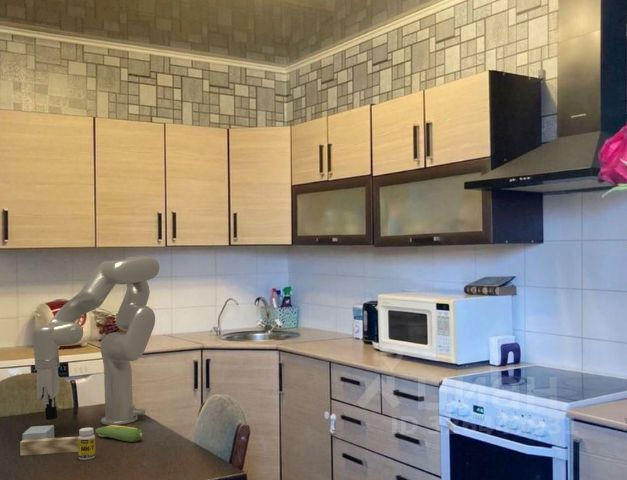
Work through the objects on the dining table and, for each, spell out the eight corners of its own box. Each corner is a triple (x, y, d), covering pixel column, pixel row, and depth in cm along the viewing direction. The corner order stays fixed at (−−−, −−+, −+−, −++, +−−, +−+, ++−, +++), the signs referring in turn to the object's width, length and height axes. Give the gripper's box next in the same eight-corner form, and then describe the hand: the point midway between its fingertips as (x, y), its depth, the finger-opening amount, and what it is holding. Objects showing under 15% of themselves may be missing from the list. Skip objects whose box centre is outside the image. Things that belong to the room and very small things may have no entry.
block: (54, 444, 218) (54, 425, 218) (46, 452, 209) (46, 432, 209) (31, 445, 217) (31, 426, 217) (22, 453, 208) (22, 434, 208)
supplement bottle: (79, 461, 198) (78, 432, 198) (77, 457, 202) (76, 428, 202) (96, 458, 200) (96, 429, 200) (94, 454, 204) (93, 426, 204)
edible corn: (135, 445, 213) (134, 430, 213) (91, 438, 223) (90, 424, 223) (147, 440, 218) (146, 426, 218) (103, 434, 228) (103, 420, 228)
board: (90, 448, 210) (90, 435, 210) (88, 451, 208) (88, 438, 208) (23, 453, 208) (22, 440, 208) (20, 455, 205) (20, 442, 205)
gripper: (41, 360, 231) (46, 413, 231) (28, 369, 216) (33, 426, 216) (64, 358, 232) (68, 411, 232) (53, 367, 217) (57, 424, 217)
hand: (51, 418), depth 224 cm, fingers closed
